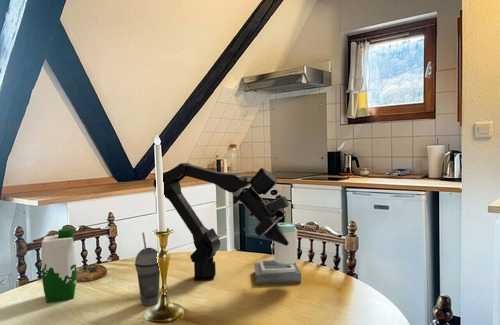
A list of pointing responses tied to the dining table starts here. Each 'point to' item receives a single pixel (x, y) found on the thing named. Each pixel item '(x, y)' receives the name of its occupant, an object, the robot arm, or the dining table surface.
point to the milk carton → (59, 266)
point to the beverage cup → (148, 275)
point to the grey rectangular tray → (276, 272)
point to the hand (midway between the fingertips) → (290, 241)
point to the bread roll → (91, 272)
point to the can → (289, 252)
